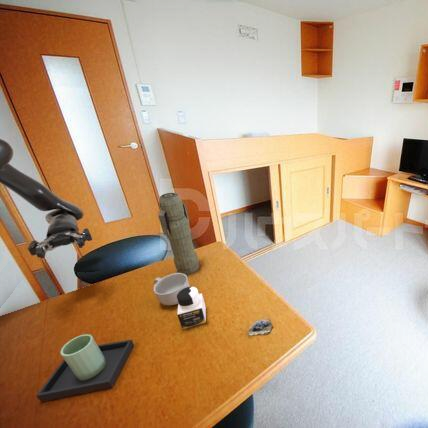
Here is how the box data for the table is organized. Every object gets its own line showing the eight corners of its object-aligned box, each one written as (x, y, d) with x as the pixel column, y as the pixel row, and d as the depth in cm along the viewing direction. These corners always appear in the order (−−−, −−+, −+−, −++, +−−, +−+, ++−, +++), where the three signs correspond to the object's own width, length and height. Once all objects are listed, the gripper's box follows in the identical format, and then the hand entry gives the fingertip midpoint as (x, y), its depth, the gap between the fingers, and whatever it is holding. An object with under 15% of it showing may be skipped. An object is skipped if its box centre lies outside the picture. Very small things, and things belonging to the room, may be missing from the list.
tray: (41, 401, 58) (35, 395, 57) (75, 355, 69) (71, 349, 68) (112, 387, 62) (108, 381, 60) (134, 345, 72) (131, 339, 71)
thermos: (170, 276, 100) (145, 200, 85) (187, 260, 111) (168, 189, 96) (189, 278, 99) (168, 201, 85) (205, 261, 110) (188, 190, 95)
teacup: (197, 295, 91) (193, 279, 87) (168, 315, 83) (162, 297, 79) (177, 282, 98) (173, 266, 94) (149, 298, 89) (142, 281, 86)
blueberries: (275, 331, 77) (274, 327, 76) (250, 342, 74) (249, 338, 73) (268, 316, 83) (268, 312, 82) (245, 326, 79) (244, 321, 78)
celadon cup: (71, 382, 62) (53, 358, 58) (86, 360, 67) (71, 336, 63) (98, 377, 63) (83, 353, 59) (110, 356, 68) (97, 332, 64)
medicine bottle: (182, 330, 77) (172, 302, 72) (183, 313, 83) (175, 287, 78) (205, 322, 80) (198, 296, 75) (205, 307, 86) (199, 281, 81)
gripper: (28, 228, 79) (20, 248, 68) (86, 216, 88) (87, 232, 77) (39, 247, 82) (33, 269, 71) (93, 233, 91) (95, 251, 80)
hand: (61, 250), depth 74 cm, fingers open, 8 cm apart
